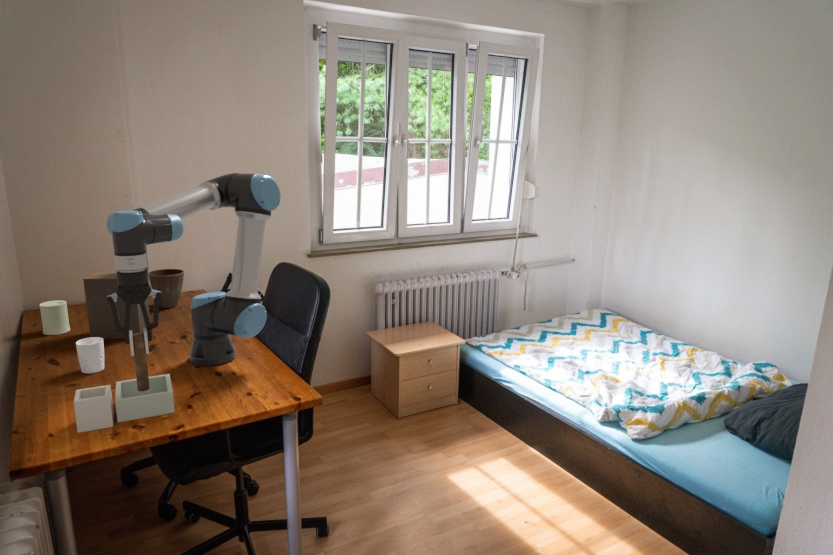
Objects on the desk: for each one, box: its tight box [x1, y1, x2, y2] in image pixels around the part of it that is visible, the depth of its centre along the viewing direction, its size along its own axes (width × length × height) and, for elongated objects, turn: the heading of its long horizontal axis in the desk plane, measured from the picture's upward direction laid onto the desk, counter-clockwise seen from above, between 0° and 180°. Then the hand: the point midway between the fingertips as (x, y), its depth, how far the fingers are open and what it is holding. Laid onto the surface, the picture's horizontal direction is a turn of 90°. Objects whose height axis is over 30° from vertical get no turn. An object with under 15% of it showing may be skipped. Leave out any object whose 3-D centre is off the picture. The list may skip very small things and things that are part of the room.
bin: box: [114, 373, 175, 423], centre depth 159 cm, size 14×14×7 cm
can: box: [38, 299, 71, 336], centre depth 223 cm, size 9×9×12 cm
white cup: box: [75, 336, 106, 375], centre depth 186 cm, size 8×8×10 cm
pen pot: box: [73, 384, 115, 434], centre depth 149 cm, size 8×8×10 cm
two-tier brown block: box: [82, 248, 151, 339], centre depth 221 cm, size 19×14×35 cm
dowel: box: [132, 333, 150, 391], centre depth 156 cm, size 3×3×16 cm
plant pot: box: [148, 268, 185, 309], centre depth 259 cm, size 15×15×16 cm
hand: (140, 353), depth 156 cm, fingers closed on dowel, 3 cm apart
